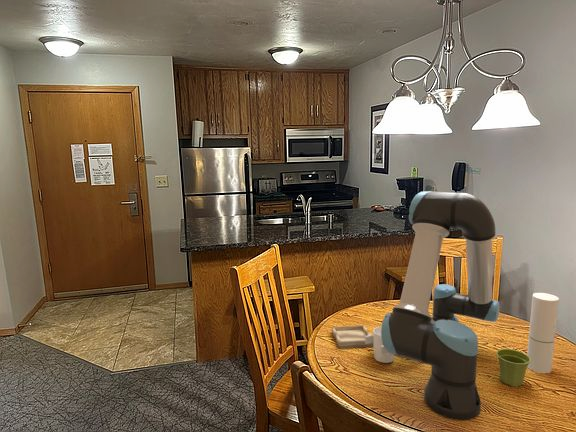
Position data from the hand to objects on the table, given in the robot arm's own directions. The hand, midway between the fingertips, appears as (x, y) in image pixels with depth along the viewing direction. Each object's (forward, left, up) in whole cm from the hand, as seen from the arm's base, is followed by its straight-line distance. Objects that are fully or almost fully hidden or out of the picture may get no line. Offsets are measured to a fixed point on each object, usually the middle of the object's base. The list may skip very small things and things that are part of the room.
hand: (373, 345), depth 136 cm
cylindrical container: (-10, -54, -7) cm, 55 cm away
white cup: (+2, -5, -6) cm, 8 cm away
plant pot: (-16, -40, -7) cm, 43 cm away
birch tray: (+18, +2, -7) cm, 19 cm away
